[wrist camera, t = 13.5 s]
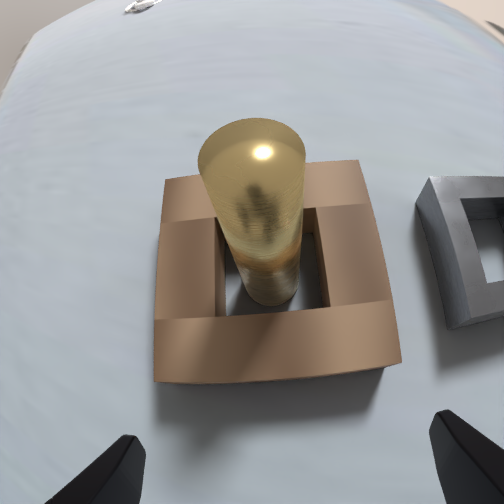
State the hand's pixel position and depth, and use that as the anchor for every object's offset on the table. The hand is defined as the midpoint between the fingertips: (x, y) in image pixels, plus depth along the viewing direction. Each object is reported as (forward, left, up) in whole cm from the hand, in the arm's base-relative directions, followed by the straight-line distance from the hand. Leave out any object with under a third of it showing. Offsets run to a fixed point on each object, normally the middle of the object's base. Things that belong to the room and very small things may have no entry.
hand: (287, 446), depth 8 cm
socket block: (+15, +8, -9) cm, 19 cm away
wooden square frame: (0, +8, -9) cm, 12 cm away
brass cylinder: (0, +8, -9) cm, 12 cm away
